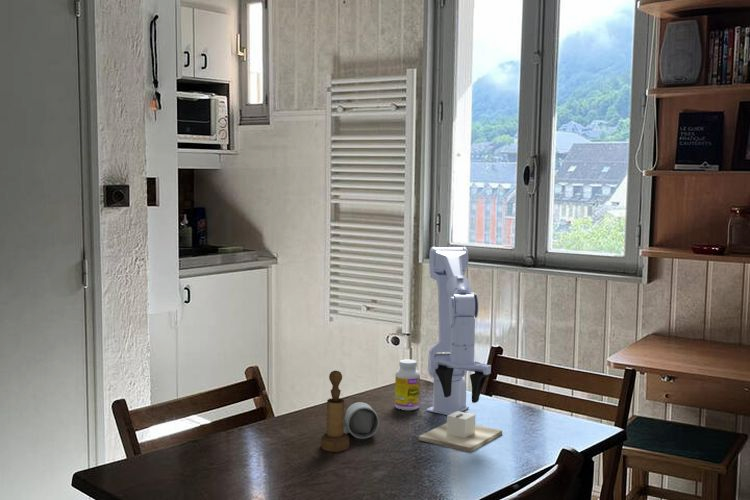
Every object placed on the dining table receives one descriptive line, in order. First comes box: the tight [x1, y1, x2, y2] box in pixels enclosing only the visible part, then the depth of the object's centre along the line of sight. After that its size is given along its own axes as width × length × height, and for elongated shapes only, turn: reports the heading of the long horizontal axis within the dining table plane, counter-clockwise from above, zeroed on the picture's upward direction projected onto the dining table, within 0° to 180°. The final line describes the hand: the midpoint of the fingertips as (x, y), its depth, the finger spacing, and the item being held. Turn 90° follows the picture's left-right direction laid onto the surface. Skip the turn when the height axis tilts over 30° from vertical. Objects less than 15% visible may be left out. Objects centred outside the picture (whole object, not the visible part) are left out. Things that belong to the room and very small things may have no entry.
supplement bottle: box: [394, 358, 421, 411], centre depth 223 cm, size 7×7×13 cm
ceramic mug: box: [343, 401, 380, 440], centre depth 201 cm, size 11×8×8 cm
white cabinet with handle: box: [446, 411, 476, 438], centre depth 199 cm, size 5×5×5 cm
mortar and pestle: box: [320, 370, 350, 453], centre depth 190 cm, size 7×6×18 cm
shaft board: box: [418, 422, 503, 453], centre depth 199 cm, size 16×14×4 cm
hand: (461, 399), depth 199 cm, fingers open, 7 cm apart
